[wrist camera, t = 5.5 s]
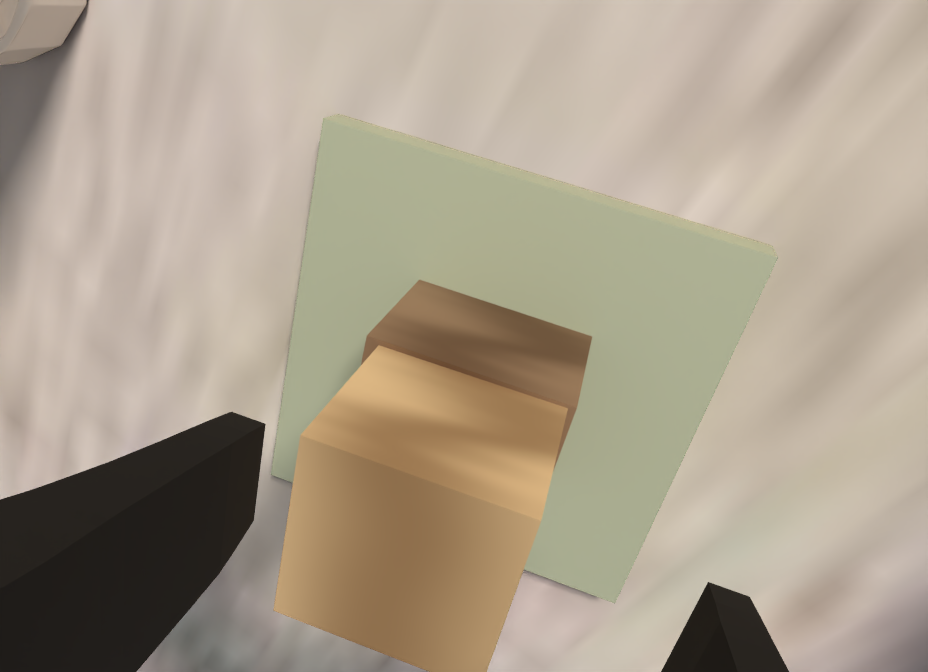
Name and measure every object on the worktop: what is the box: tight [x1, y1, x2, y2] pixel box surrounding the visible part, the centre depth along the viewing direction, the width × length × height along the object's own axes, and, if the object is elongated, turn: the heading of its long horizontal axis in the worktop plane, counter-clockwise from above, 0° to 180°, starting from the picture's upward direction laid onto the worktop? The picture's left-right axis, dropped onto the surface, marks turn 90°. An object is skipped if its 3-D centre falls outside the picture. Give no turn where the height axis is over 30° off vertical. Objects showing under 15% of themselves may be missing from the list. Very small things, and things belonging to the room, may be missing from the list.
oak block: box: [273, 345, 568, 672], centre depth 15 cm, size 4×4×4 cm
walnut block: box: [361, 280, 592, 471], centre depth 19 cm, size 5×5×4 cm
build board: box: [271, 114, 778, 603], centre depth 21 cm, size 12×12×1 cm
